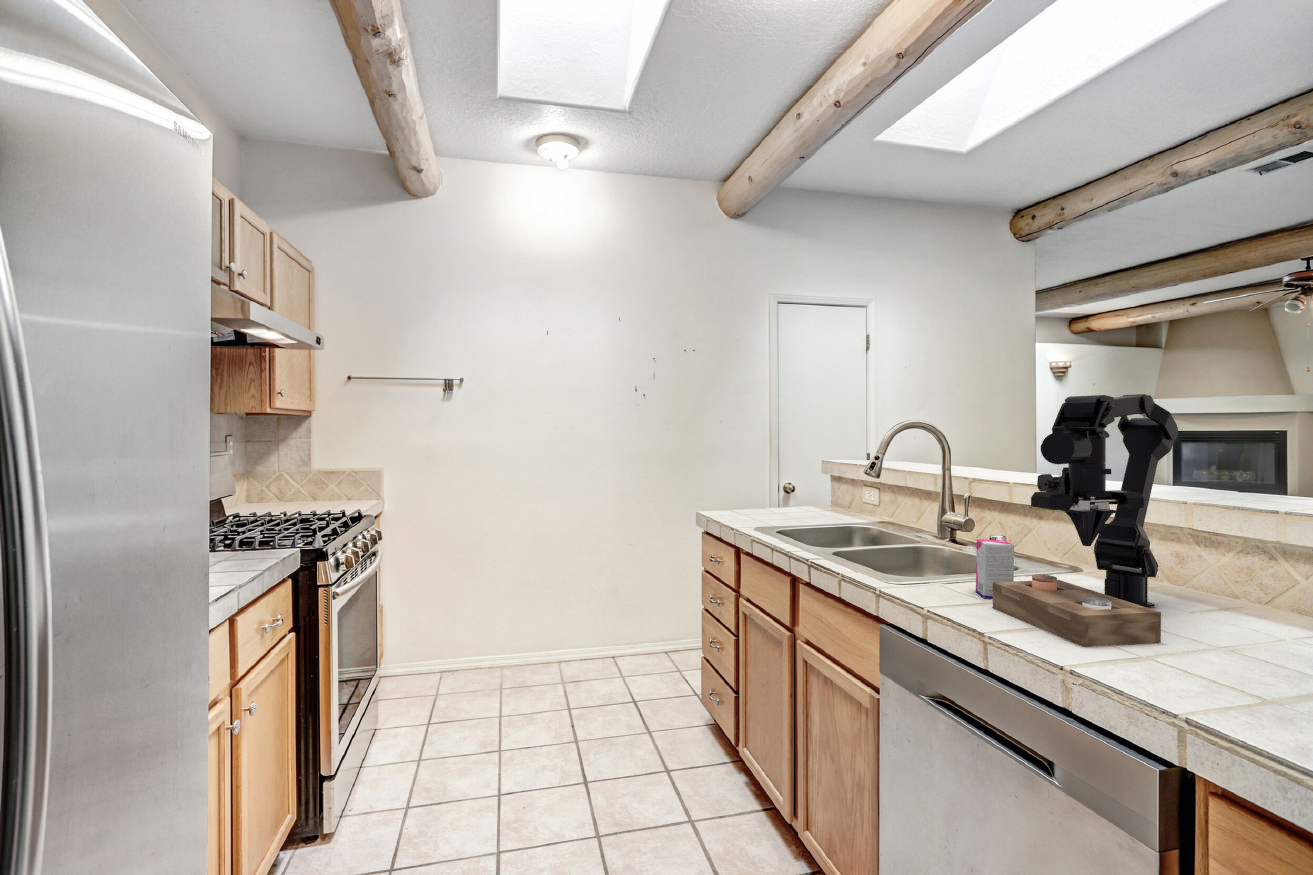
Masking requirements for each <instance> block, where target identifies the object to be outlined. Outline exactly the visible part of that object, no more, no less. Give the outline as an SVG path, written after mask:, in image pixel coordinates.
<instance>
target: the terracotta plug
mask: <svg viewBox="0 0 1313 875" xmlns="http://www.w3.org/2000/svg"><path fill="white" fill-rule="evenodd" d="M1031 579H1032V580H1031V581H1032V588H1035V589H1037V590H1040V591H1057V580H1058V578H1057V576H1053V575H1050V574H1041V573H1040V574H1032V575H1031Z"/></svg>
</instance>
